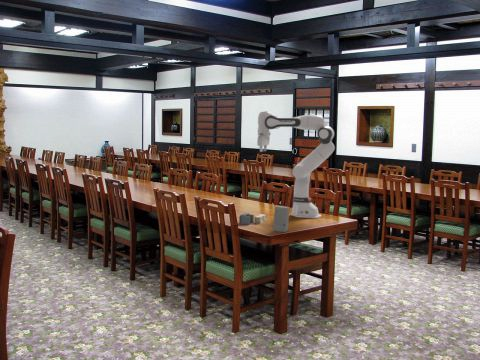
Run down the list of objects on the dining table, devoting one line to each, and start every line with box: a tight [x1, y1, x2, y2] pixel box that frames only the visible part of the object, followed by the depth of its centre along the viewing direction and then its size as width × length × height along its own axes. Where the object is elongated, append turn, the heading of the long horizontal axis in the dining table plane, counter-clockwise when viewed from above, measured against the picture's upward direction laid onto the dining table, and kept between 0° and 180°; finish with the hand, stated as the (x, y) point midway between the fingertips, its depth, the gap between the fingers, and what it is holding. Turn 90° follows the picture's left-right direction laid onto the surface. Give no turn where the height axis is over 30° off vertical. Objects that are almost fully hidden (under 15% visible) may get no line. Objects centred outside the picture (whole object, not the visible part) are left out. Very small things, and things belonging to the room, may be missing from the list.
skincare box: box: [272, 205, 290, 233], centre depth 323 cm, size 8×7×16 cm
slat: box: [254, 213, 267, 225], centre depth 352 cm, size 14×4×4 cm, turn 159°
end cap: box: [238, 212, 255, 225], centre depth 346 cm, size 7×9×6 cm
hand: (263, 151), depth 385 cm, fingers open, 8 cm apart
